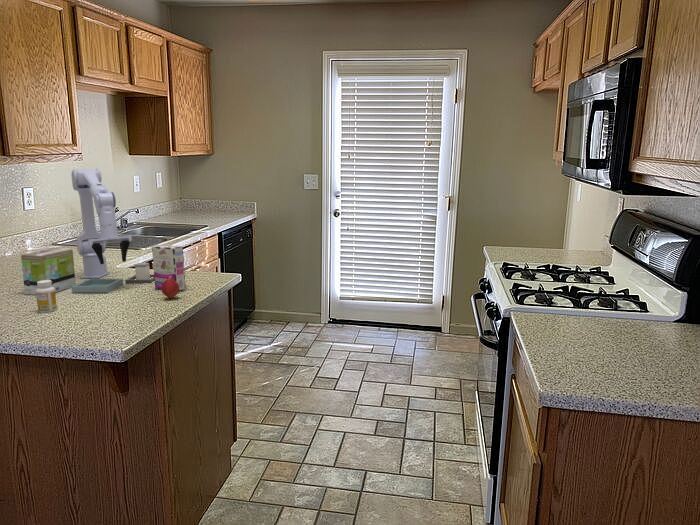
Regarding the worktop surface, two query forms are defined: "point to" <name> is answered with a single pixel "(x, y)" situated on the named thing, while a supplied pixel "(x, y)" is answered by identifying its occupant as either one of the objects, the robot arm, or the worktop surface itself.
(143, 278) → the tan rectangular block
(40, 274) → the tea box
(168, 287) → the onion
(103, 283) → the parts tray
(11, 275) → the worktop surface
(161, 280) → the candy bar box
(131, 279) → the socket collar
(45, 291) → the supplement bottle
